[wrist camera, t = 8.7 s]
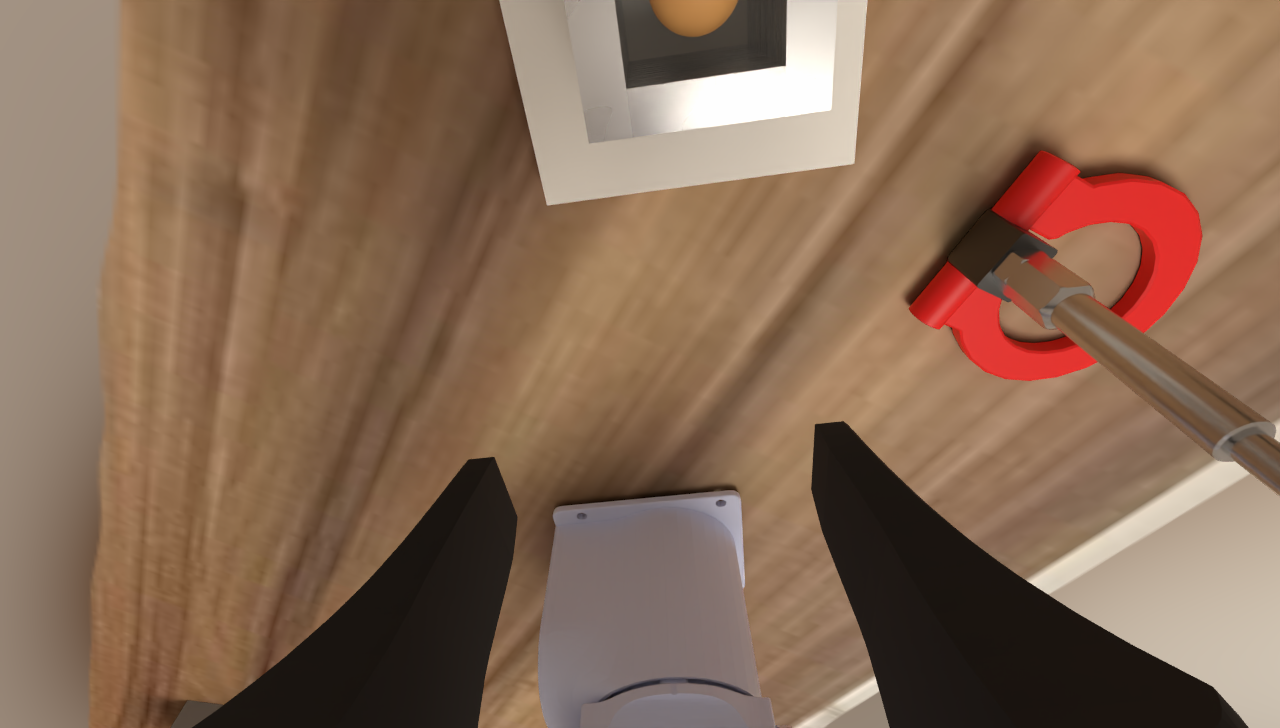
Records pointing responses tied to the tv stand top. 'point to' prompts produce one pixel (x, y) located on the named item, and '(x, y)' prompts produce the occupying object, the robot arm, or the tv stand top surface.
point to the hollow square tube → (703, 71)
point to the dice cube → (194, 713)
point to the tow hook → (1092, 302)
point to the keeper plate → (661, 26)
